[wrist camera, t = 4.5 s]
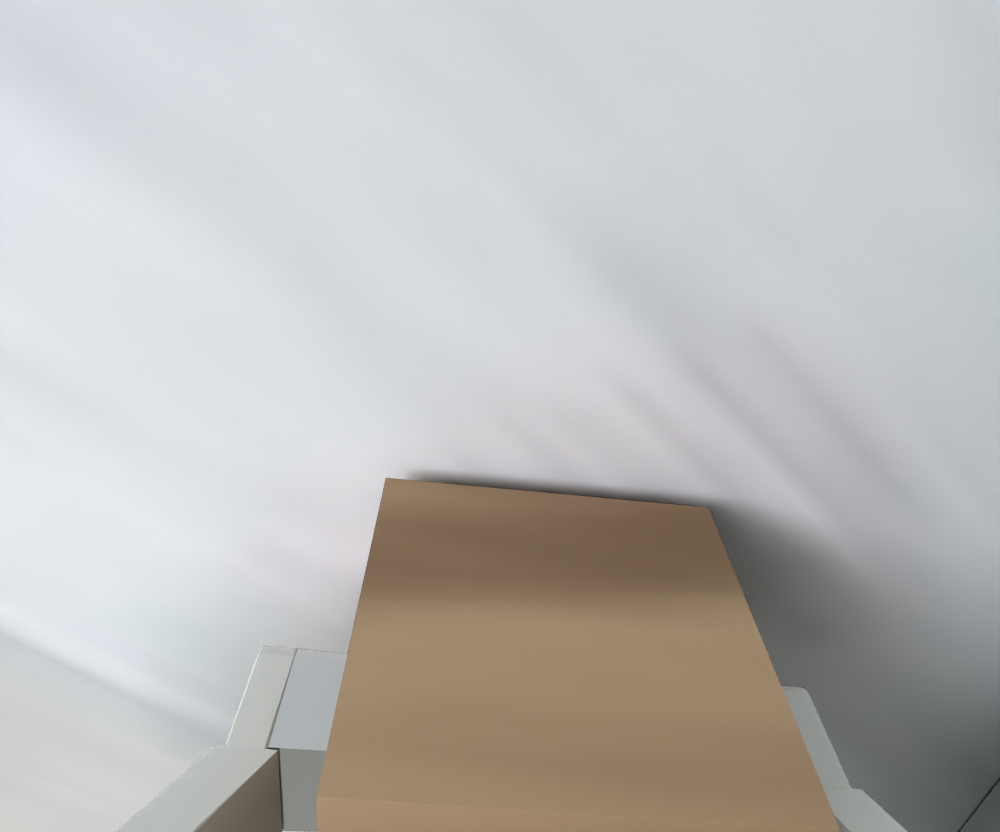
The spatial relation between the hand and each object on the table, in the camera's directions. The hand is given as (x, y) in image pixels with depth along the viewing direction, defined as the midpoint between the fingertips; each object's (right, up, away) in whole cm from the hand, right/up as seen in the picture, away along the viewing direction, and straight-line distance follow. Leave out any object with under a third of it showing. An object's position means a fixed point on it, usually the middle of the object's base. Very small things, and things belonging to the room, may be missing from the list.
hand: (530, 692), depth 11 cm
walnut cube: (0, +1, +1) cm, 2 cm away
